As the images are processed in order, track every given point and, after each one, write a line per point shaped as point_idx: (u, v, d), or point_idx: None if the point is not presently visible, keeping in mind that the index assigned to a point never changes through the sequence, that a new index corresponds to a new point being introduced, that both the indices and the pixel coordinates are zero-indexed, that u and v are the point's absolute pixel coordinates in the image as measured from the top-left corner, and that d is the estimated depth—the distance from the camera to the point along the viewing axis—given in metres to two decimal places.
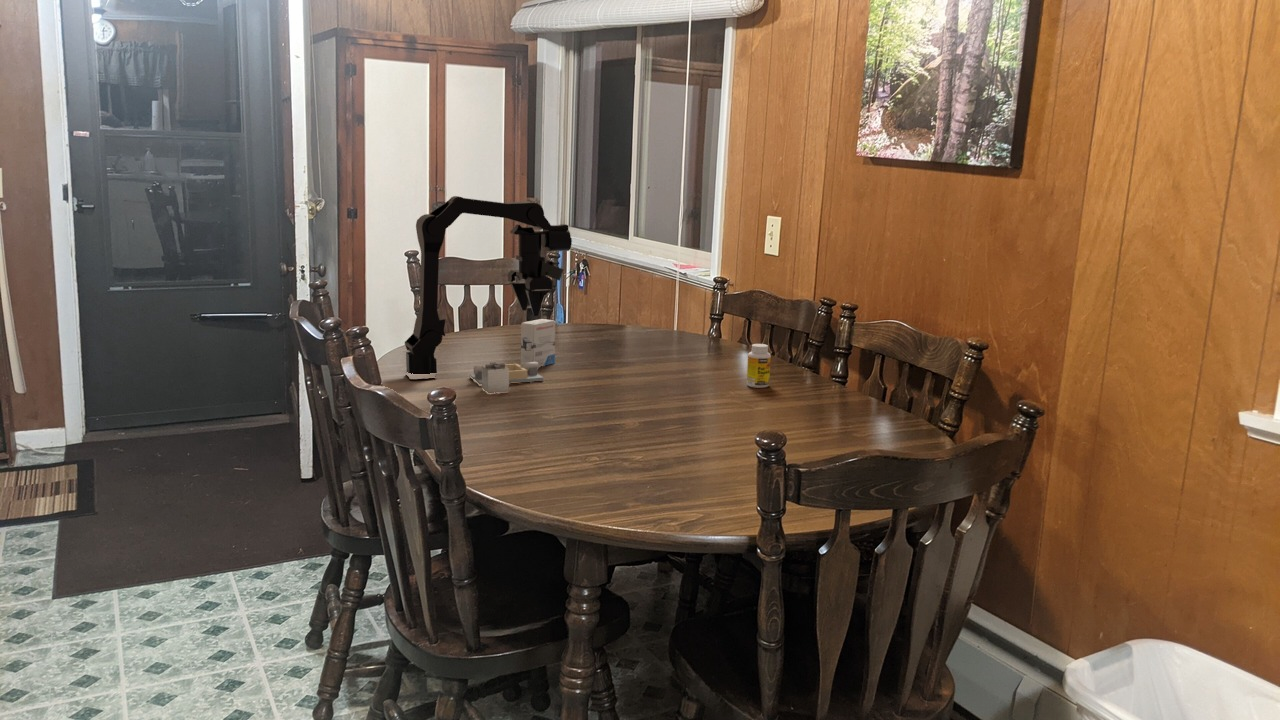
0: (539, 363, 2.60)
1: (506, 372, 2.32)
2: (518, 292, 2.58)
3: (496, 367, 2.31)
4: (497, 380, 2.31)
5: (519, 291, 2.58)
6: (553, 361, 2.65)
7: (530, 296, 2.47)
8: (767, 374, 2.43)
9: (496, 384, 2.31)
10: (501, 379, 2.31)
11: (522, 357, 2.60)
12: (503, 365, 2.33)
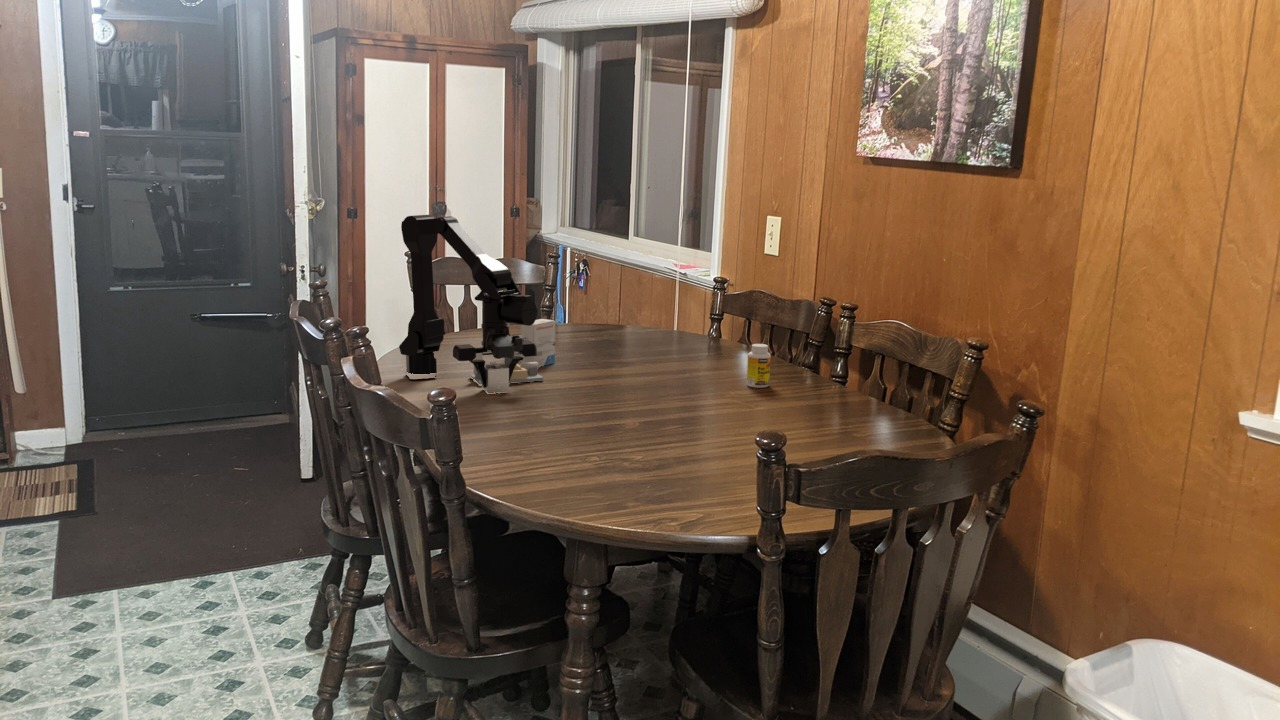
0: (539, 363, 2.60)
1: (506, 371, 2.32)
2: (506, 364, 2.35)
3: (496, 367, 2.31)
4: (497, 380, 2.31)
5: (505, 364, 2.35)
6: (553, 361, 2.65)
7: (473, 364, 2.33)
8: (767, 374, 2.43)
9: (496, 384, 2.31)
10: (501, 379, 2.31)
11: None
12: (503, 365, 2.33)
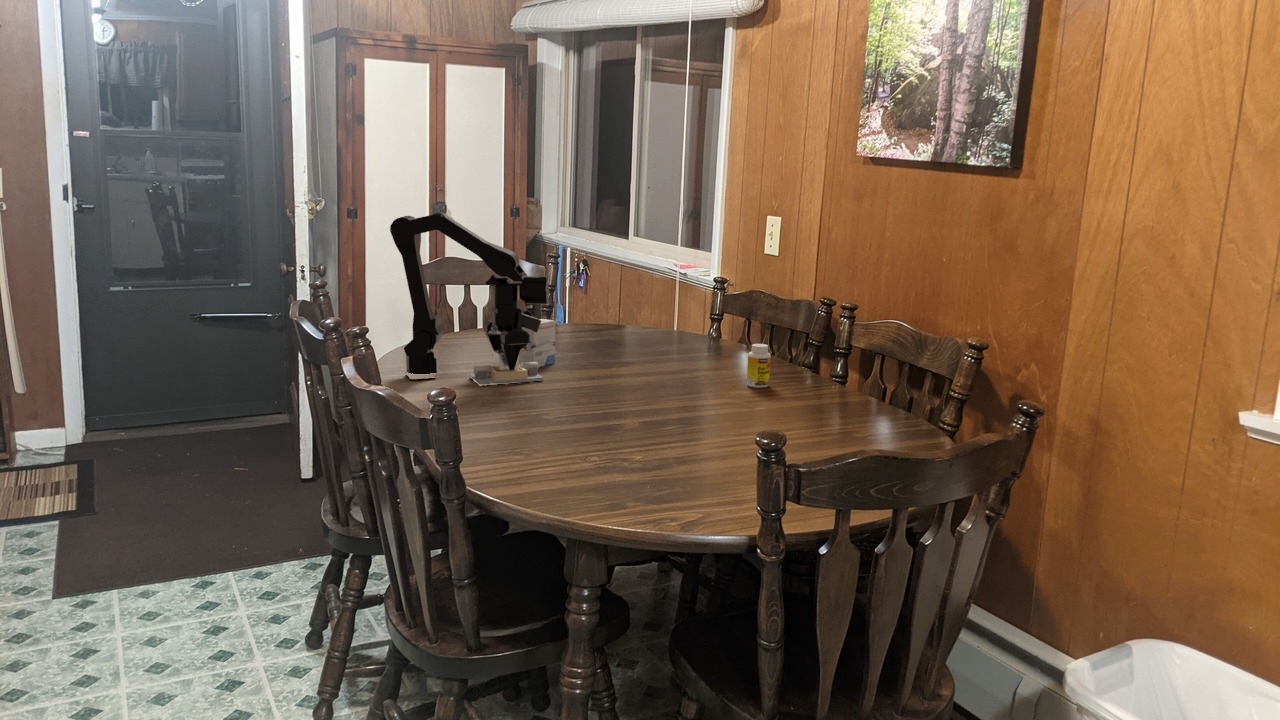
0: (539, 363, 2.60)
1: None
2: (494, 343, 2.48)
3: None
4: None
5: (495, 343, 2.48)
6: (553, 361, 2.65)
7: (506, 350, 2.38)
8: (767, 374, 2.43)
9: None
10: None
11: (522, 357, 2.60)
12: None
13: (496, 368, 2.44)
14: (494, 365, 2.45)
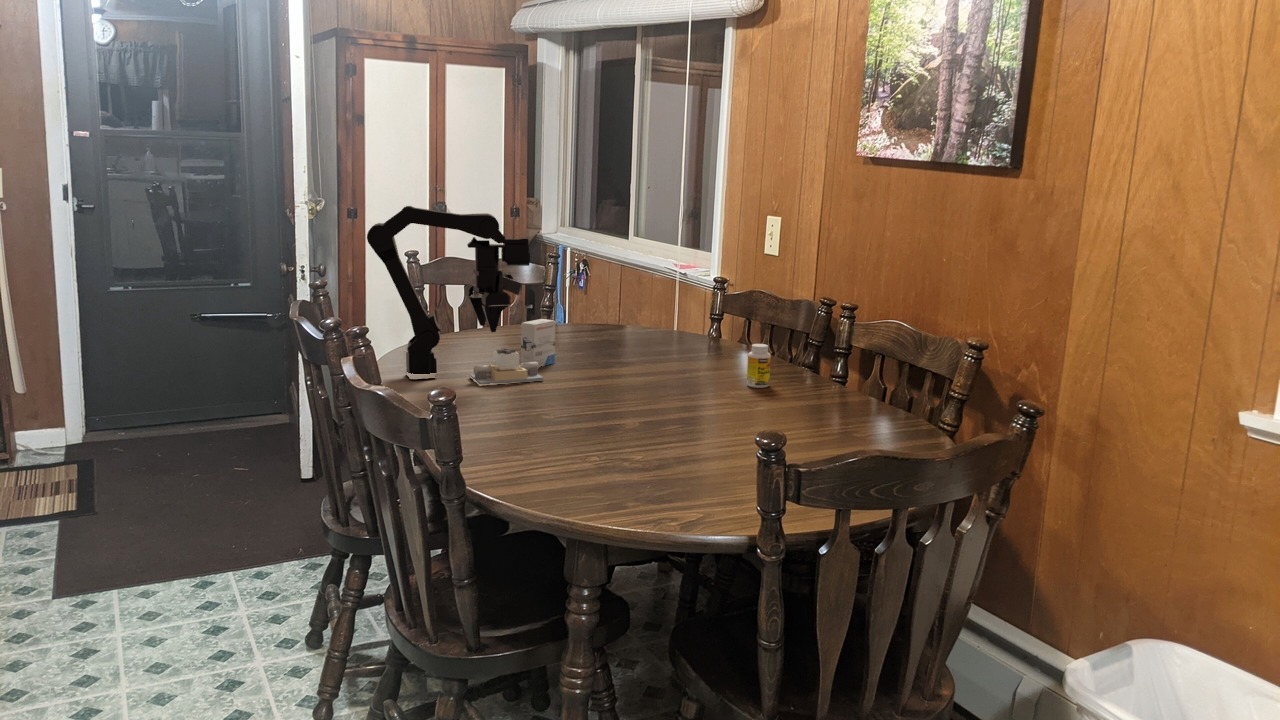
0: (539, 363, 2.60)
1: None
2: (476, 307, 2.50)
3: None
4: None
5: (476, 306, 2.50)
6: (553, 361, 2.65)
7: (487, 312, 2.39)
8: (767, 374, 2.43)
9: None
10: None
11: (522, 357, 2.60)
12: None
13: (496, 368, 2.44)
14: (494, 365, 2.45)
